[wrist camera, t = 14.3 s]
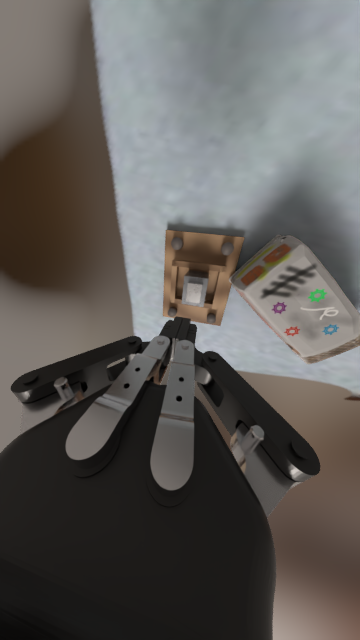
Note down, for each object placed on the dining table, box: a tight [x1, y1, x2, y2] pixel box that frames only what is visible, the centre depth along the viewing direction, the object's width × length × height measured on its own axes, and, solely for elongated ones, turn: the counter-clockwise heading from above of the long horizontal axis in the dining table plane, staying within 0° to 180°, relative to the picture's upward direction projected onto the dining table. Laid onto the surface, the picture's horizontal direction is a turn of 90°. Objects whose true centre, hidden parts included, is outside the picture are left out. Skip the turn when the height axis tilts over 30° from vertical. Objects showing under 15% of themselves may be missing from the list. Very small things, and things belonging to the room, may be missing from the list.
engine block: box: [182, 270, 209, 307], centre depth 26 cm, size 5×4×7 cm
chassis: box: [163, 230, 244, 326], centre depth 29 cm, size 18×14×3 cm
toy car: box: [229, 235, 360, 364], centre depth 24 cm, size 11×25×10 cm, turn 49°
